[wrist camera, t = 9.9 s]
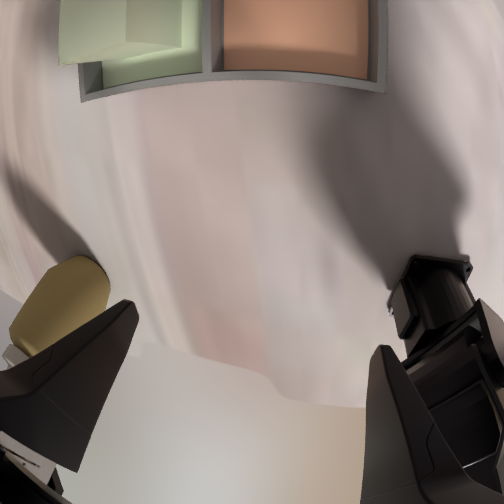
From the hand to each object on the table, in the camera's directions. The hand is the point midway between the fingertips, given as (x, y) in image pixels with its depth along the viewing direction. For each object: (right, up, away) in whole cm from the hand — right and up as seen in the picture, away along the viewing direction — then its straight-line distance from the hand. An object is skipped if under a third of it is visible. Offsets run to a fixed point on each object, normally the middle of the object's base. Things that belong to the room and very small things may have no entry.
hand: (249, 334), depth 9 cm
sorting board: (-2, +17, +3) cm, 17 cm away
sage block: (-6, +17, +3) cm, 19 cm away
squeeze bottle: (-18, 0, +19) cm, 26 cm away
